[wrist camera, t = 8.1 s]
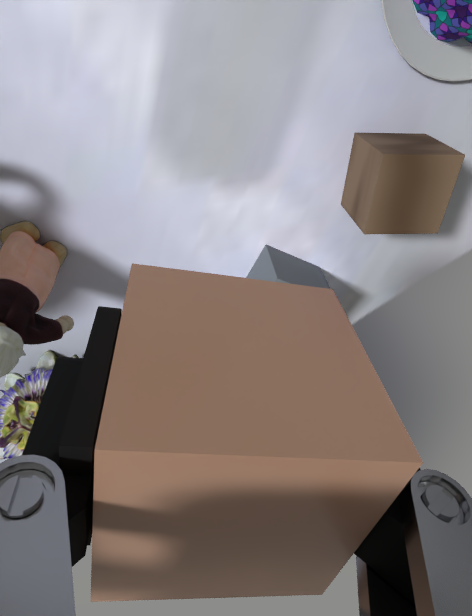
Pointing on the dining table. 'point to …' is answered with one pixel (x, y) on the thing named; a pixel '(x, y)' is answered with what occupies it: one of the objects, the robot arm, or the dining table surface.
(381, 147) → the walnut cube
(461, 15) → the purple patterned hat
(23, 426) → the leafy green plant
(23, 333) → the grandmother figurine
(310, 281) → the slate grey cube
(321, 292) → the terracotta cube
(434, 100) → the dining table surface
